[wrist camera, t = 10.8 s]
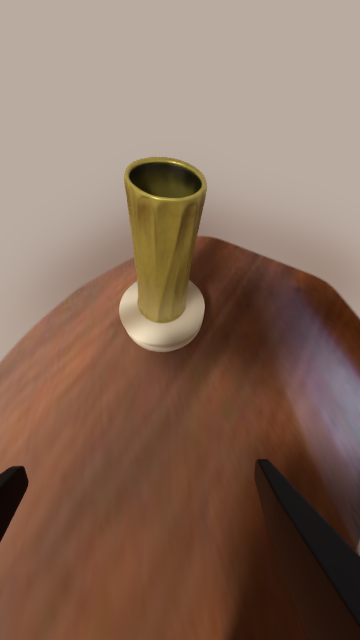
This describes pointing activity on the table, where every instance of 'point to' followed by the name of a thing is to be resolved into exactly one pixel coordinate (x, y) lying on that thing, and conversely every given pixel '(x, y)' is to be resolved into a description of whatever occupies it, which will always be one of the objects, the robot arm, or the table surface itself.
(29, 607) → the table surface
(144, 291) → the vase
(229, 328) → the table surface
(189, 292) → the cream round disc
